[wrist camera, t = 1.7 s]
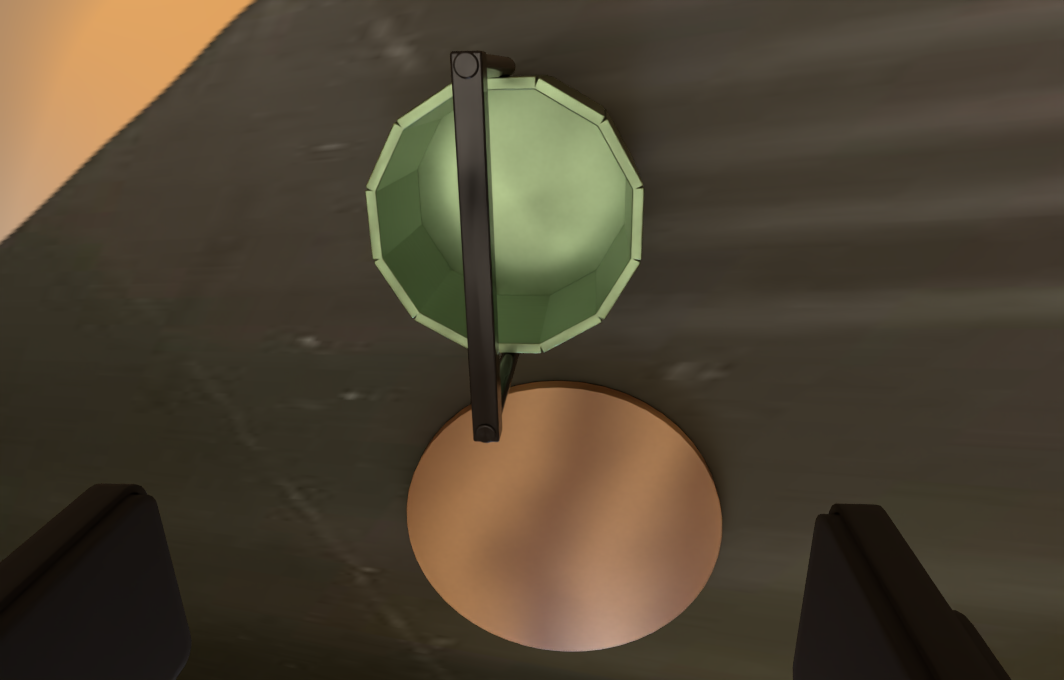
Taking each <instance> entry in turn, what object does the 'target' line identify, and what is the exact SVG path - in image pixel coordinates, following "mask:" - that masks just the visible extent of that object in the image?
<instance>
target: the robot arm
mask: <svg viewBox="0 0 1064 680" xmlns="http://www.w3.org/2000/svg"><path fill="white" fill-rule="evenodd" d="M190 650H191V635H190V631H189V627H188V623H187V619H186V615H185V611H184V607H183V604H182V600H181V596H180V592H179V588H178V584H177V580H176V576H175V572H174V568H173V564H172V560H171V557H170V553H169V549H168V545H167V541H166V537H165V533H164V529H163V525H162V521H161V517H160V514H159V510H158V506H157V503H156V500H155V499H154V498H153V497H152V496H150V495H147V493H146V491H145V490H144V489H143V488H142V486H139V485H135V484H96V485H94V486H92V487H90V488H89V489H87V490H86V491H85V492H84V493H83V494H81V495H80V496H79V497H78V498H77V499H75V500H74V501H73V502H72V503H71V504H69V505H68V506H67V507H66V508H65V509H64V510H62V511H61V512H60V513H59V514H58V515H56V516H55V517H54V518H53V519H52V520H50V521H49V522H48V523H47V524H46V525H44V526H43V527H42V528H41V529H40V530H38V531H37V532H36V533H35V534H34V535H33V536H31V537H30V538H29V539H28V540H27V541H25V542H24V543H23V544H22V545H21V546H19V547H18V548H17V549H16V550H15V551H13V552H12V553H11V554H10V555H9V556H8V557H6V558H5V559H4V560H3V561H2V562H0V680H175V679H176V678H177V676H178V675H179V673H180V672H181V671H182V669H183V668H184V666H185V664H186V662H187V660H188V657H189V655H190ZM793 680H1011V679H1010V677H1009V676H1008V674H1007V673H1006V672H1005V670H1004V669H1003V667H1002V666H1001V664H1000V663H999V661H998V660H997V659H996V657H995V656H994V654H993V653H992V651H991V650H990V649H989V647H988V646H987V644H986V643H985V641H984V640H983V638H982V637H981V636H980V634H979V633H978V631H977V630H976V628H975V627H974V625H973V624H972V623H971V622H970V621H969V620H968V619H967V618H966V616H965V615H963V614H961V613H960V612H958V611H956V610H952V609H951V608H950V606H949V605H948V603H947V602H946V600H945V599H944V597H943V596H942V594H941V593H940V591H939V590H938V588H937V587H936V585H935V584H934V582H933V581H932V580H931V578H930V577H929V575H928V574H927V572H926V571H925V569H924V568H923V566H922V565H921V563H920V562H919V560H918V559H917V557H916V556H915V554H914V553H913V551H912V550H911V548H910V547H909V545H908V544H907V542H906V541H905V539H904V538H903V537H902V535H901V534H900V532H899V531H898V529H897V528H896V526H895V525H894V523H893V522H892V520H891V519H890V517H889V516H888V514H887V513H886V511H885V510H884V509H883V508H882V507H881V506H879V505H868V504H834V505H832V507H831V509H830V511H829V514H820V515H818V517H817V518H816V522H815V527H814V533H813V540H812V546H811V553H810V559H809V565H808V572H807V578H806V585H805V591H804V597H803V604H802V610H801V617H800V623H799V629H798V636H797V642H796V649H795V655H794V661H793Z"/></svg>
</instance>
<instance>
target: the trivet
mask: <svg viewBox="0 0 1064 680" xmlns="http://www.w3.org/2000/svg"><path fill="white" fill-rule="evenodd" d="M407 526H408V531H409V537H410V542H411V545H412V548H413V551H414V554H415V556H416V559H417V561H418V563H419V565H420V567H421V569H422V571H423V573H424V574H425V576H426V577H427V579H428V580H429V582H430V583H431V585H432V586H433V587H434V589H435V590H436V591H437V592H438V593H439V594H440V595H441V597H442V598H443V599H444V600H445V601H446V602H447V603H448V604H449V605H451V606H452V607H453V608H454V609H455V610H456V611H457V612H458V613H460V614H461V615H463V616H464V617H465V618H467V619H468V620H470V621H471V622H472V623H474V624H476V625H477V626H479V627H481V628H483V629H485V630H486V631H488V632H490V633H492V634H495V635H497V636H499V637H502V638H504V639H506V640H509V641H513V642H516V643H519V644H522V645H526V646H530V647H535V648H540V649H547V650H556V651H588V650H598V649H604V648H609V647H614V646H619V645H622V644H625V643H628V642H631V641H634V640H637V639H639V638H641V637H644V636H646V635H648V634H650V633H652V632H654V631H656V630H658V629H659V628H661V627H663V626H664V625H666V624H668V623H669V622H670V621H672V620H673V619H674V618H675V617H677V616H678V615H679V614H680V613H682V612H683V611H684V610H685V609H686V608H687V607H688V606H689V605H690V604H691V603H692V602H693V601H694V600H695V598H696V597H697V596H698V594H699V593H700V591H701V590H702V589H703V587H704V586H705V584H706V582H707V581H708V579H709V577H710V575H711V573H712V571H713V569H714V566H715V563H716V560H717V557H718V554H719V550H720V544H721V538H722V514H721V507H720V501H719V497H718V493H717V490H716V487H715V484H714V480H713V477H712V474H711V472H710V470H709V468H708V466H707V464H706V462H705V460H704V458H703V457H702V455H701V454H700V452H699V451H698V449H697V448H696V446H695V445H694V444H693V442H692V441H691V440H690V439H689V438H688V437H687V436H686V434H685V433H684V432H683V431H682V430H681V429H680V428H679V427H678V426H677V425H676V424H674V423H673V422H672V421H671V420H670V419H668V418H667V417H666V416H665V415H663V414H662V413H660V412H659V411H657V410H656V409H654V408H653V407H651V406H649V405H648V404H646V403H644V402H642V401H640V400H638V399H636V398H634V397H632V396H630V395H627V394H625V393H622V392H619V391H616V390H613V389H610V388H607V387H603V386H598V385H593V384H588V383H583V382H571V381H542V382H534V383H528V384H522V385H517V386H513V387H510V389H509V392H508V396H507V399H506V403H505V406H504V410H503V413H502V433H501V437H500V440H499V442H490V443H482V442H475V441H474V440H473V425H472V409H471V404H470V405H469V406H467V407H465V408H464V409H462V410H461V411H460V412H458V413H457V414H456V415H455V416H454V417H452V418H451V419H450V420H449V421H447V422H446V424H445V425H444V426H443V427H442V428H441V429H440V430H439V431H438V432H437V433H436V434H435V436H434V437H433V439H432V440H431V442H430V443H429V445H428V446H427V447H426V449H425V451H424V453H423V455H422V457H421V459H420V461H419V463H418V465H417V468H416V470H415V472H414V474H413V478H412V481H411V485H410V488H409V493H408V501H407Z"/></svg>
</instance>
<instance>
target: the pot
mask: <svg viewBox="0 0 1064 680" xmlns="http://www.w3.org/2000/svg"><path fill="white" fill-rule="evenodd" d="M450 63H451V79H452V83H450V84H449V85H447V86H446V87H444V88H443V89H441V90H440V91H438V92H437V93H435V94H434V95H432V96H431V97H429V98H428V99H426V100H425V101H423V102H422V103H421V104H419V105H418V106H416V107H415V108H413V109H412V110H410V111H409V112H407V113H406V114H404V115H403V116H401V117H400V118H398V119H397V122H395V123H394V124H393V126H392V128H391V131H390V133H389V135H388V137H387V140H386V142H385V144H384V146H383V149H382V151H381V153H380V155H379V158H378V160H377V162H376V164H375V167H374V169H373V171H372V173H371V176H370V178H369V180H368V182H367V185H366V188H367V190H365V195H366V204H367V213H368V223H369V232H370V241H371V250H372V258H373V259H374V260H375V261H374V264H375V265H376V266H377V268H378V269H379V271H380V272H381V274H382V275H383V277H384V278H385V280H386V281H387V282H388V284H389V285H390V287H391V288H392V290H393V291H394V293H395V294H396V296H397V297H398V298H399V300H400V301H401V303H402V304H403V306H404V307H405V309H406V310H407V312H408V313H409V315H410V316H411V317H412V318H414V317H415V316H416V317H415V319H414V320H415V321H417V322H419V323H420V324H422V325H424V326H426V327H428V328H430V329H432V330H433V331H435V332H437V333H439V334H441V335H443V336H445V337H446V338H448V339H450V340H452V341H454V342H456V343H458V344H459V345H461V346H463V347H465V348H467V349H468V359H469V376H470V392H471V409H472V425H473V440H474V441H475V442H482V443H490V442H499V440H500V437H501V433H502V413H503V410H504V406H505V403H506V399H507V396H508V392H509V389H510V385H511V382H512V378H513V374H514V371H515V367H516V364H517V360H518V357H519V353H541V351H543V352H546V351H548V350H550V349H552V348H554V347H555V346H557V345H559V344H561V343H563V342H565V341H567V340H569V339H571V338H573V337H574V336H576V335H578V334H580V333H582V332H584V331H586V330H588V329H590V328H591V327H593V326H595V325H597V324H599V323H601V322H602V319H605V318H606V317H607V315H608V313H609V312H610V310H611V309H612V307H613V305H614V304H615V302H616V301H617V299H618V298H619V296H620V294H621V293H622V291H623V290H624V288H625V287H626V285H627V283H628V282H629V280H630V279H631V277H632V276H633V274H634V272H635V271H636V269H637V268H638V266H639V265H640V260H641V259H642V239H643V211H644V187H643V182H642V180H641V177H640V174H639V172H638V169H637V167H636V164H635V162H634V160H633V158H632V156H631V154H630V152H629V151H628V149H627V147H626V145H625V143H624V141H623V139H622V138H621V135H620V134H619V132H618V130H617V128H616V127H615V125H614V123H613V121H612V119H611V117H610V115H609V114H608V112H607V110H606V109H605V110H604V107H603V106H601V105H600V104H598V103H596V102H595V101H593V100H591V99H590V98H588V97H586V96H584V95H583V94H581V93H580V92H579V91H577V90H575V89H573V88H571V87H569V86H568V85H566V84H564V83H562V82H561V81H559V80H557V79H556V78H554V77H552V76H548V75H527V76H510V75H512V74H513V73H514V71H515V63H514V61H513V60H512V59H511V58H509V57H504V56H497V55H491V54H486V52H484V51H452V52H451V53H450ZM499 353H502V355H501V358H500V359H499Z"/></svg>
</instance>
